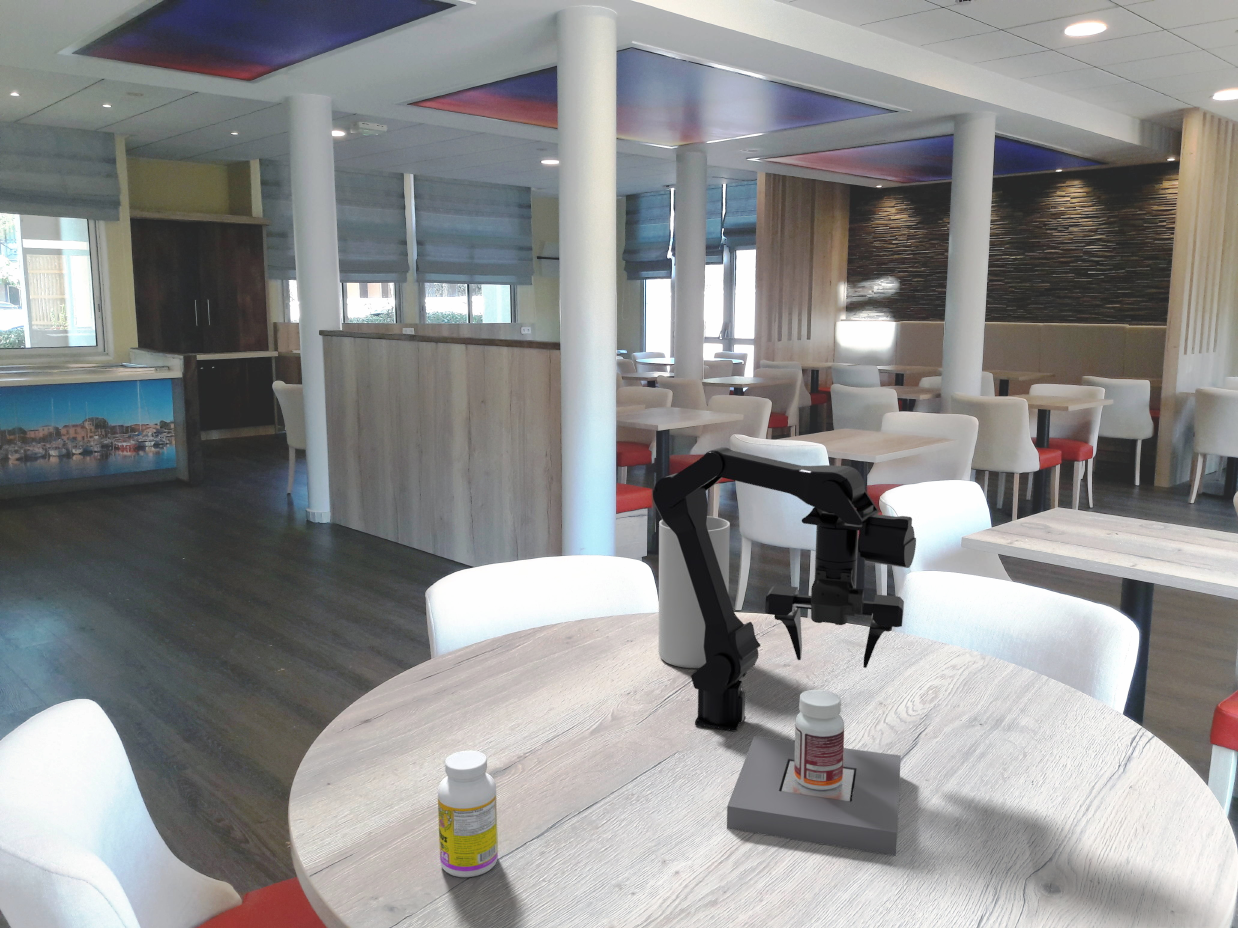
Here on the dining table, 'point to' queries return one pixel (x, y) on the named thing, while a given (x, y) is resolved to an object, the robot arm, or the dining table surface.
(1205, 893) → the dining table surface
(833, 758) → the pill bottle
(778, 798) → the plate
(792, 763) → the plunger pad
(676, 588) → the cylinder vase
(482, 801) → the supplement bottle
